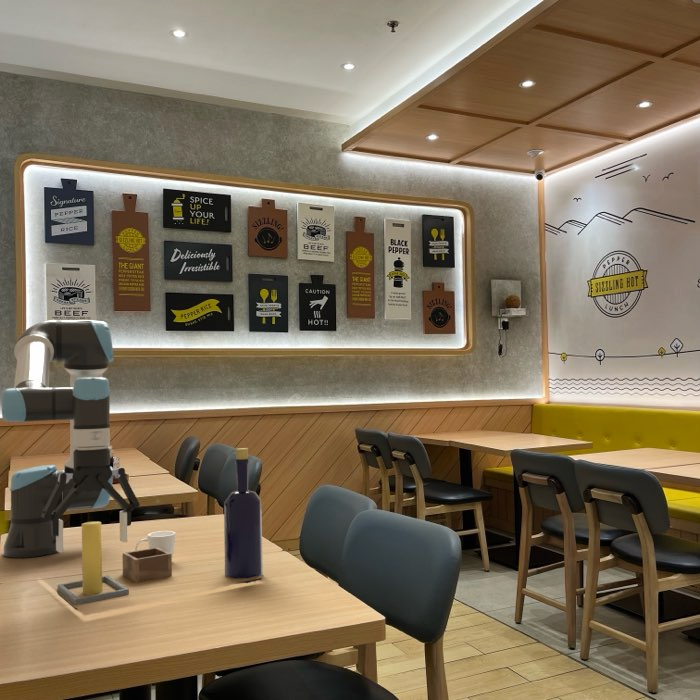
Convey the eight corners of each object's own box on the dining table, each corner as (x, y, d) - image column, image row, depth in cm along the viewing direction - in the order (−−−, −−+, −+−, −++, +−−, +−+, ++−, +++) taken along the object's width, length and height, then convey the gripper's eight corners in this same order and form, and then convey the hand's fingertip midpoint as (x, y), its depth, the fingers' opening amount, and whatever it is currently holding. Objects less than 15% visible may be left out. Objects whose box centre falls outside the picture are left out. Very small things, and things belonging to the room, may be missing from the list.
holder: (122, 578, 165) (122, 553, 165) (157, 572, 170) (157, 547, 170) (135, 586, 158) (135, 559, 158) (171, 579, 163) (171, 553, 163)
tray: (57, 593, 154) (57, 584, 154) (107, 584, 160) (107, 575, 160) (75, 609, 142) (75, 599, 142) (128, 598, 149) (128, 589, 149)
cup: (177, 567, 173) (176, 535, 174) (135, 572, 170) (134, 538, 171) (175, 561, 180) (175, 529, 180) (134, 565, 177) (134, 533, 177)
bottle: (271, 574, 165) (269, 447, 167) (249, 584, 157) (247, 451, 159) (238, 570, 169) (236, 446, 171) (216, 580, 161) (214, 450, 162)
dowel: (80, 593, 152) (79, 523, 152) (99, 589, 154) (98, 520, 155) (85, 597, 148) (84, 526, 149) (104, 593, 151) (103, 523, 152)
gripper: (34, 453, 142) (35, 558, 141) (153, 444, 157) (154, 540, 156) (26, 451, 148) (26, 552, 147) (141, 443, 163) (142, 534, 162)
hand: (92, 546), depth 152 cm, fingers open, 13 cm apart
